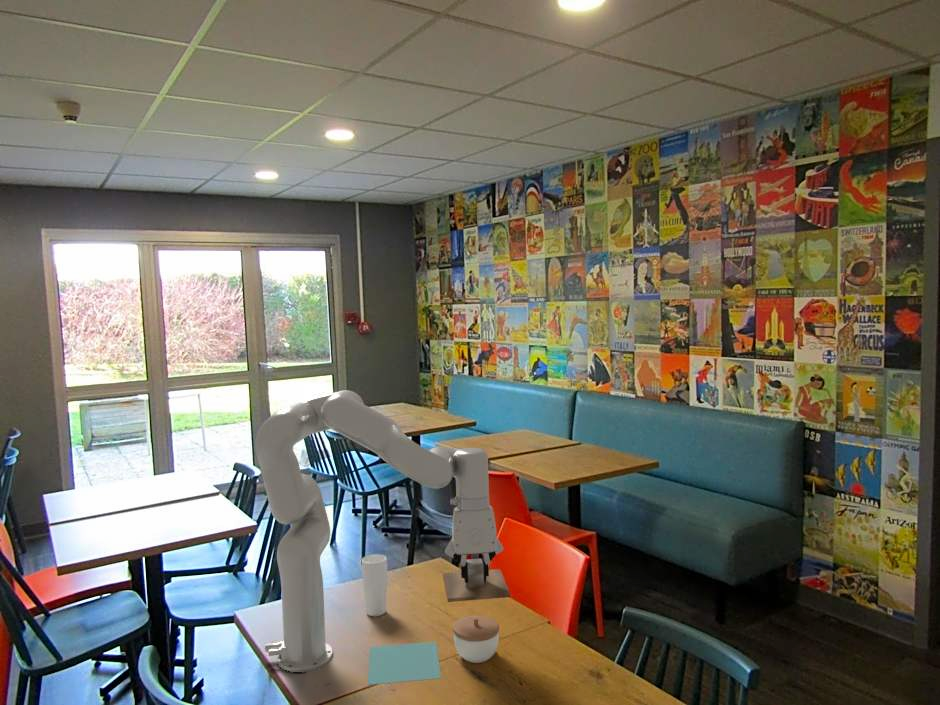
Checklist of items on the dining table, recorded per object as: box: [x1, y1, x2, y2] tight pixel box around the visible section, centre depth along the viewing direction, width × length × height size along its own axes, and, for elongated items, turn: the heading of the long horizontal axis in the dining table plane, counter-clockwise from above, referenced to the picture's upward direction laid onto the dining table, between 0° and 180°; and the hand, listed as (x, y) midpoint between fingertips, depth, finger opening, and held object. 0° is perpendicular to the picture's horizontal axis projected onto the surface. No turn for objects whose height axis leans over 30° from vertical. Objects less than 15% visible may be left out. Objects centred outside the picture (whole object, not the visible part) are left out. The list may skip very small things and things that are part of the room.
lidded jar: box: [452, 614, 500, 664], centre depth 152 cm, size 11×11×9 cm
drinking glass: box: [361, 553, 388, 617], centre depth 175 cm, size 7×7×15 cm
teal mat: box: [367, 641, 442, 686], centre depth 150 cm, size 16×16×1 cm
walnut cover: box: [442, 558, 511, 603], centre depth 150 cm, size 14×14×6 cm
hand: (475, 579), depth 151 cm, fingers closed on walnut cover, 3 cm apart
